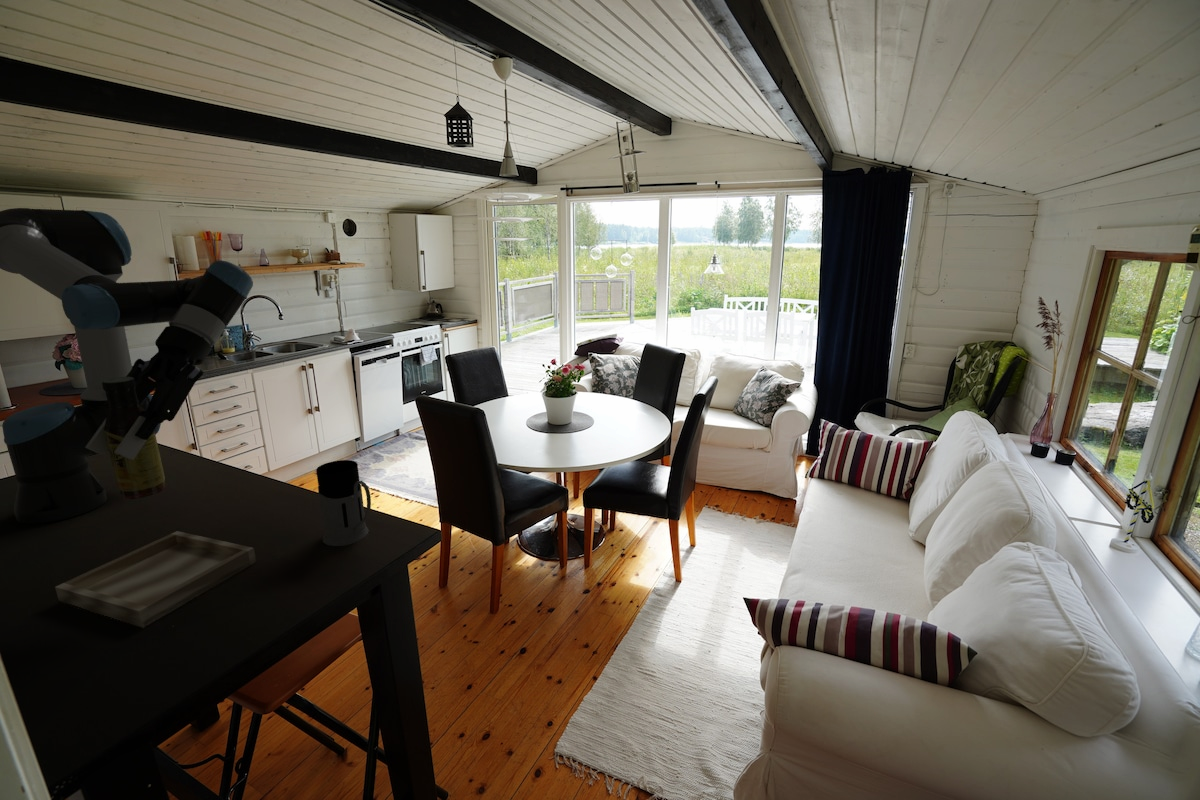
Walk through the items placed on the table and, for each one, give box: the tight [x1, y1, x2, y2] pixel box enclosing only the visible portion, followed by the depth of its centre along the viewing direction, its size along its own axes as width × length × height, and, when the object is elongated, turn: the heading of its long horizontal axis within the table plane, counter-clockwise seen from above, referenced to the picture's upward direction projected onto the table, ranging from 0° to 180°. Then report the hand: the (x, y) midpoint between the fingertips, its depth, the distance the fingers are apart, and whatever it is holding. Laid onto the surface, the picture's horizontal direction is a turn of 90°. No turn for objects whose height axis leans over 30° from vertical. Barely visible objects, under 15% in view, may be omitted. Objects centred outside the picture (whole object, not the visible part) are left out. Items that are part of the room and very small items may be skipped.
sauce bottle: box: [102, 377, 166, 500], centre depth 93 cm, size 7×6×20 cm
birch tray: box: [54, 530, 257, 629], centre depth 100 cm, size 20×20×3 cm
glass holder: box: [315, 459, 372, 547], centre depth 112 cm, size 9×14×15 cm, turn 56°
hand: (109, 453), depth 90 cm, fingers closed on sauce bottle, 6 cm apart
